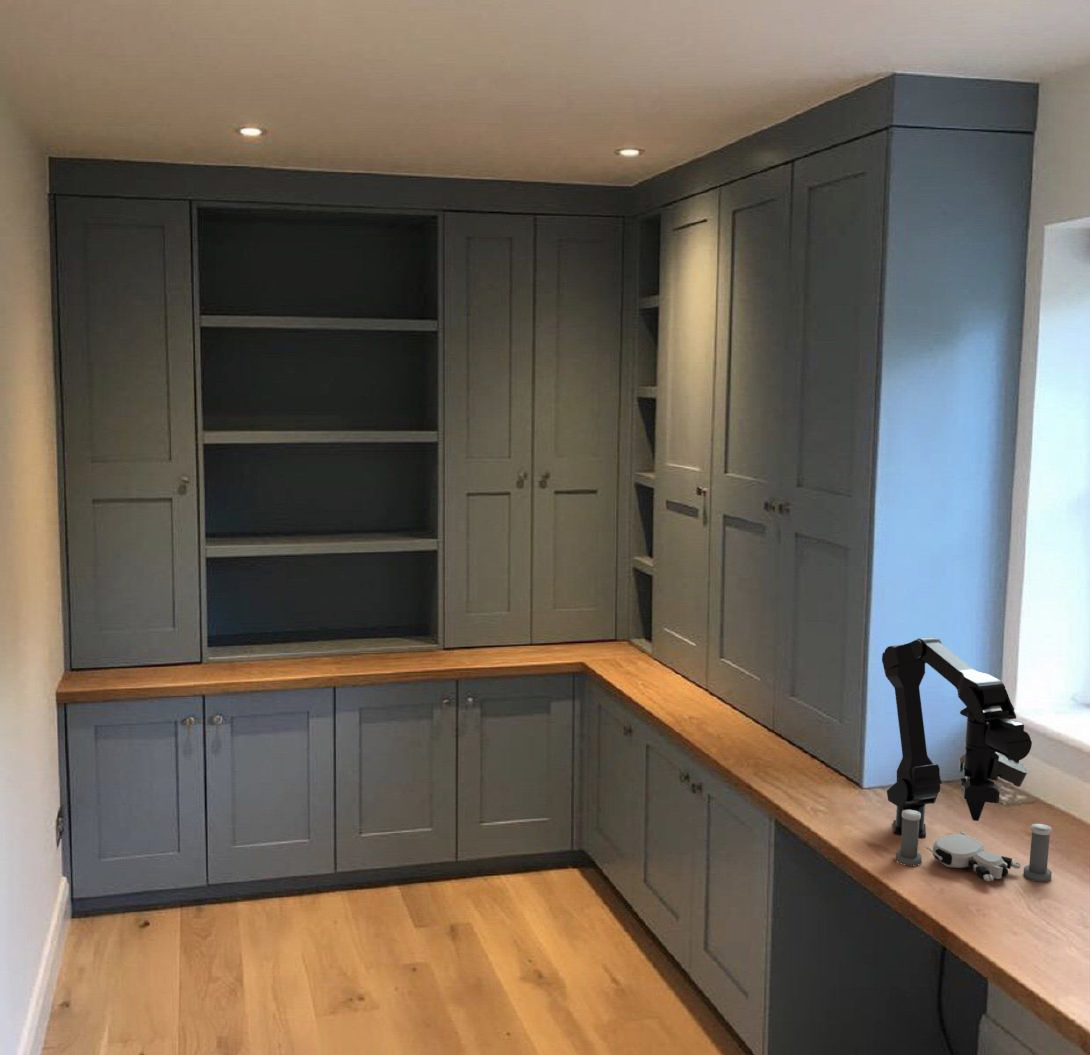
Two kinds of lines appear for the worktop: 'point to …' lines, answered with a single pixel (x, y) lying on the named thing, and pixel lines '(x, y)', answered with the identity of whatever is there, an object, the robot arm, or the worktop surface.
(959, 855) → the robot toy
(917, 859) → the tube
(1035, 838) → the tube
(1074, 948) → the worktop surface
